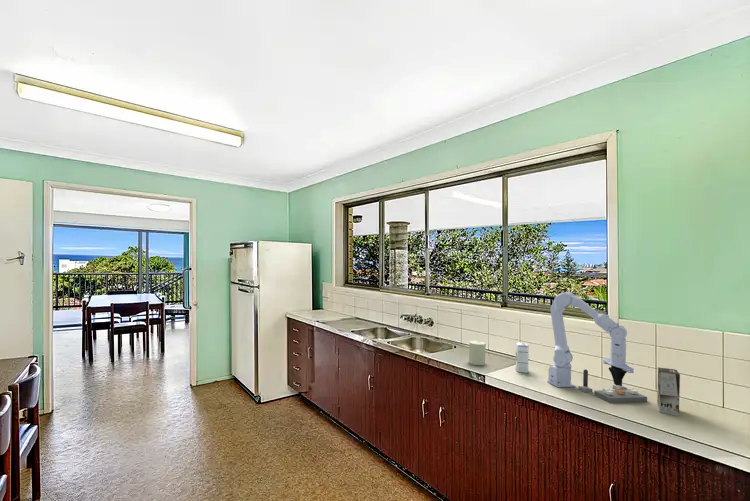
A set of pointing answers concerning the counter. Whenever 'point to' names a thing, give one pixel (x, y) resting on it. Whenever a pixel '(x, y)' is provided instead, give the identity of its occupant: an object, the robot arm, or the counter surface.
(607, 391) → the left paddle
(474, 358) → the can
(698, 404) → the counter surface
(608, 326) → the robot arm
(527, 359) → the syrup box
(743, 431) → the counter surface
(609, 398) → the switch panel
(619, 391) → the middle paddle
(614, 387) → the grey post with base
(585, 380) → the grey peg stand
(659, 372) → the coffee box
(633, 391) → the right paddle
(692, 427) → the counter surface
